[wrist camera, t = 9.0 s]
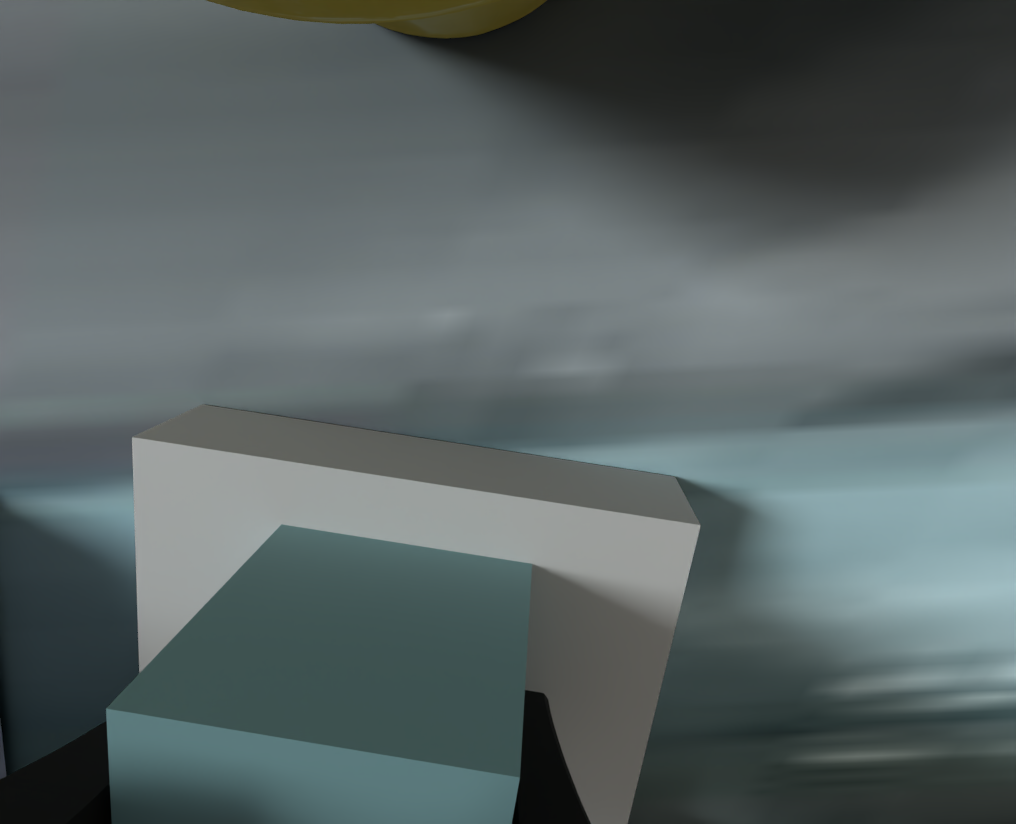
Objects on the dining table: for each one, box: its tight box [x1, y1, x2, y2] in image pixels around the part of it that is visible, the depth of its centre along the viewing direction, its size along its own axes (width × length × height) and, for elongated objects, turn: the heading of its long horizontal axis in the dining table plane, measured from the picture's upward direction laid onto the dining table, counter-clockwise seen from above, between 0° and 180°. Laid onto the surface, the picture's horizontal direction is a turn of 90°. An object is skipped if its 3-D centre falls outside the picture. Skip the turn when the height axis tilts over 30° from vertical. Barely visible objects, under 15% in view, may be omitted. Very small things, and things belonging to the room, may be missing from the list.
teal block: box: [106, 524, 532, 824], centre depth 10 cm, size 5×5×5 cm
